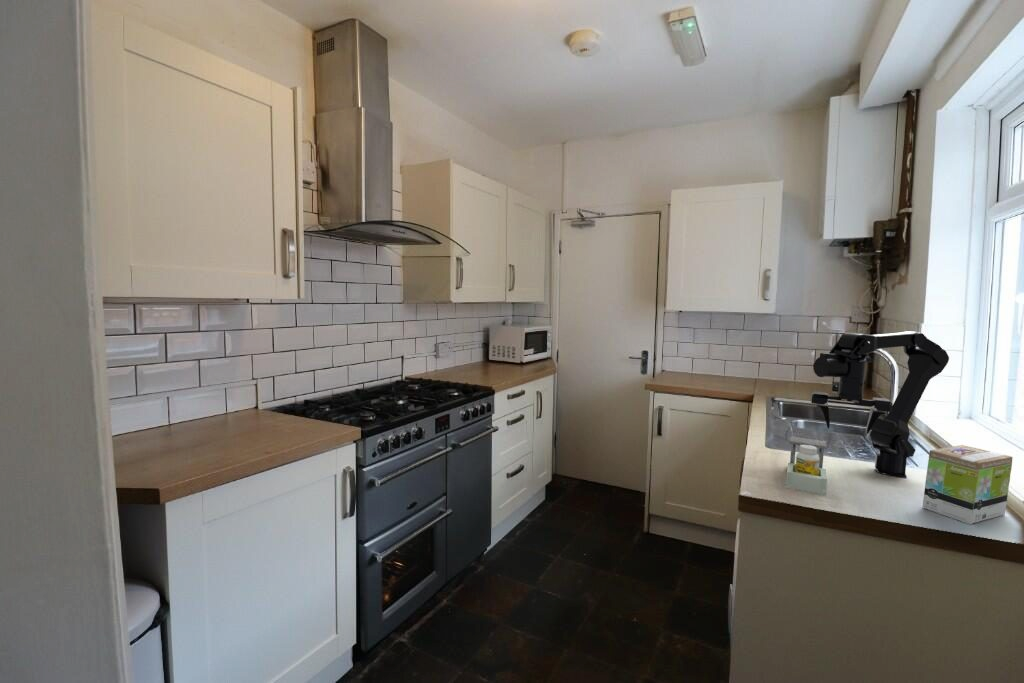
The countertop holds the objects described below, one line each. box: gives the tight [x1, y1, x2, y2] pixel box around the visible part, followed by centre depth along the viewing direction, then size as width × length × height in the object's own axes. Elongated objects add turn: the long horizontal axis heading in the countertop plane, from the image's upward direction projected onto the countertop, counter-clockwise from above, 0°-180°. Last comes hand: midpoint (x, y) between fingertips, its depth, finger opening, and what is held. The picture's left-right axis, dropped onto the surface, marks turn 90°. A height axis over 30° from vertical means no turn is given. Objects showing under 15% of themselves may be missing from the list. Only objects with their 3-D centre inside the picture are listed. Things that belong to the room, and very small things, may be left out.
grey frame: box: [789, 436, 828, 468], centre depth 140 cm, size 9×6×8 cm, turn 59°
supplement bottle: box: [795, 445, 820, 476], centre depth 130 cm, size 5×5×10 cm
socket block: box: [785, 462, 828, 496], centre depth 134 cm, size 9×20×4 cm, turn 149°
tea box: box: [922, 444, 1013, 525], centre depth 115 cm, size 15×10×15 cm, turn 114°
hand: (847, 430), depth 138 cm, fingers open, 9 cm apart
